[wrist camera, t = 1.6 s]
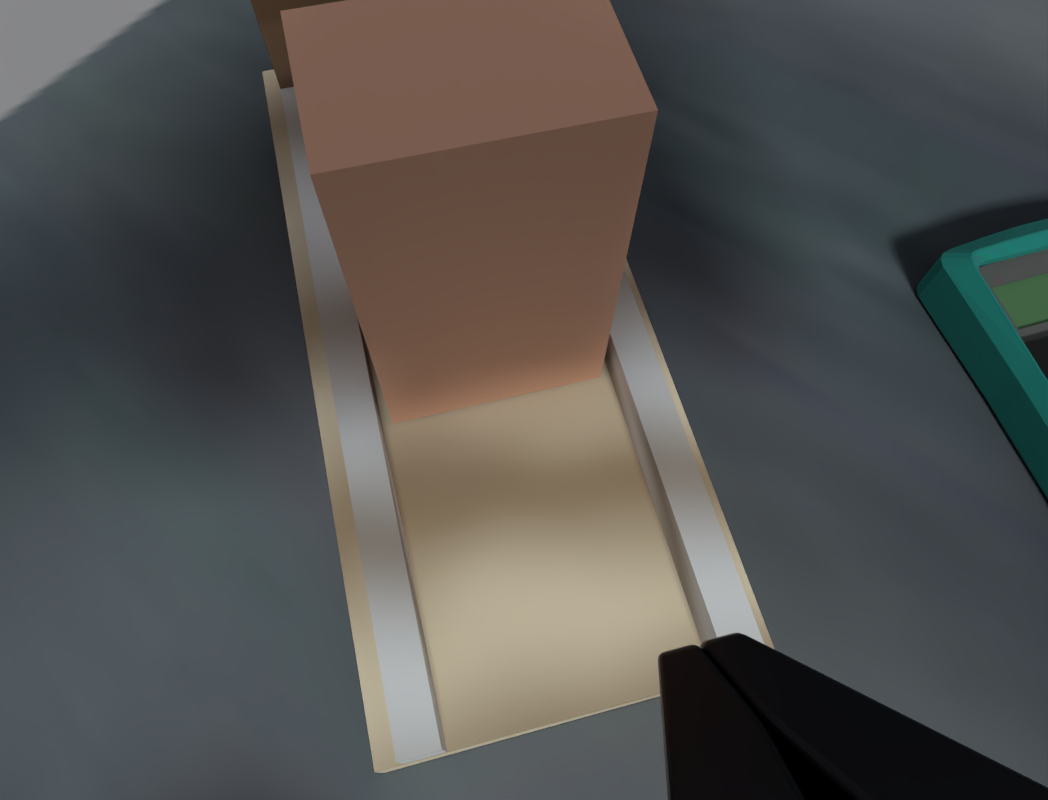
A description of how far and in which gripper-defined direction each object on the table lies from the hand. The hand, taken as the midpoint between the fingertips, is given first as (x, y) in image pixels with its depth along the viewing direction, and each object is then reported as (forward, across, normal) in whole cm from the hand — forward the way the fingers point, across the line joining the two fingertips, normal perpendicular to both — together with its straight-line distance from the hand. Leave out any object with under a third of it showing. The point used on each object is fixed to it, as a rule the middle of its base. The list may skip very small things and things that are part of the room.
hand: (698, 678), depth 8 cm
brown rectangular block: (+16, 0, +1) cm, 16 cm away
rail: (+18, 0, +1) cm, 18 cm away
